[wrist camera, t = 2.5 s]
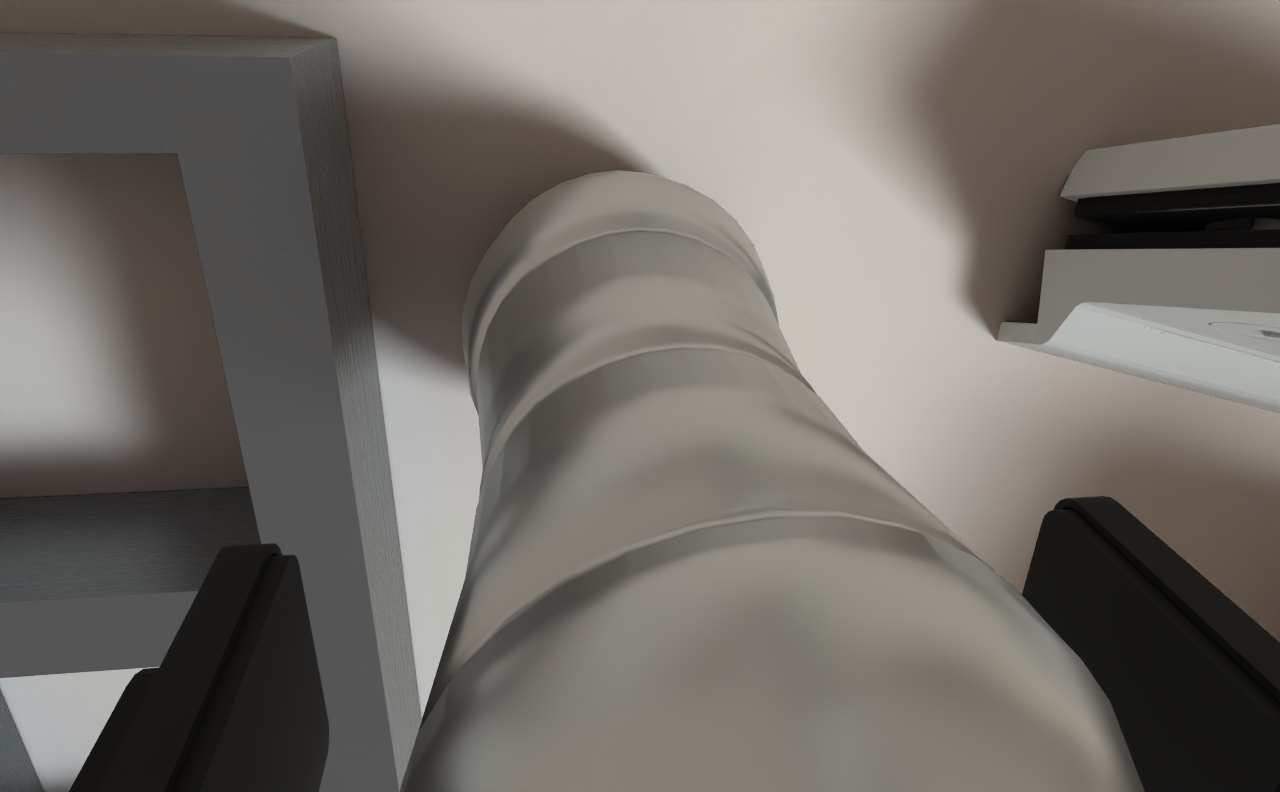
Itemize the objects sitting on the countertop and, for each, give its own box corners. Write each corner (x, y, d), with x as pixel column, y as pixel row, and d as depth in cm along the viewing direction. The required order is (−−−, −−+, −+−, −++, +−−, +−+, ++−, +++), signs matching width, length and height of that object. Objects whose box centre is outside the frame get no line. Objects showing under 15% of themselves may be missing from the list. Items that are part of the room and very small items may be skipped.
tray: (-407, 25, 15) (-679, 44, 12) (336, 38, 17) (289, 57, 14) (-5, 850, 26) (-88, 990, 22) (432, 808, 27) (420, 933, 24)
